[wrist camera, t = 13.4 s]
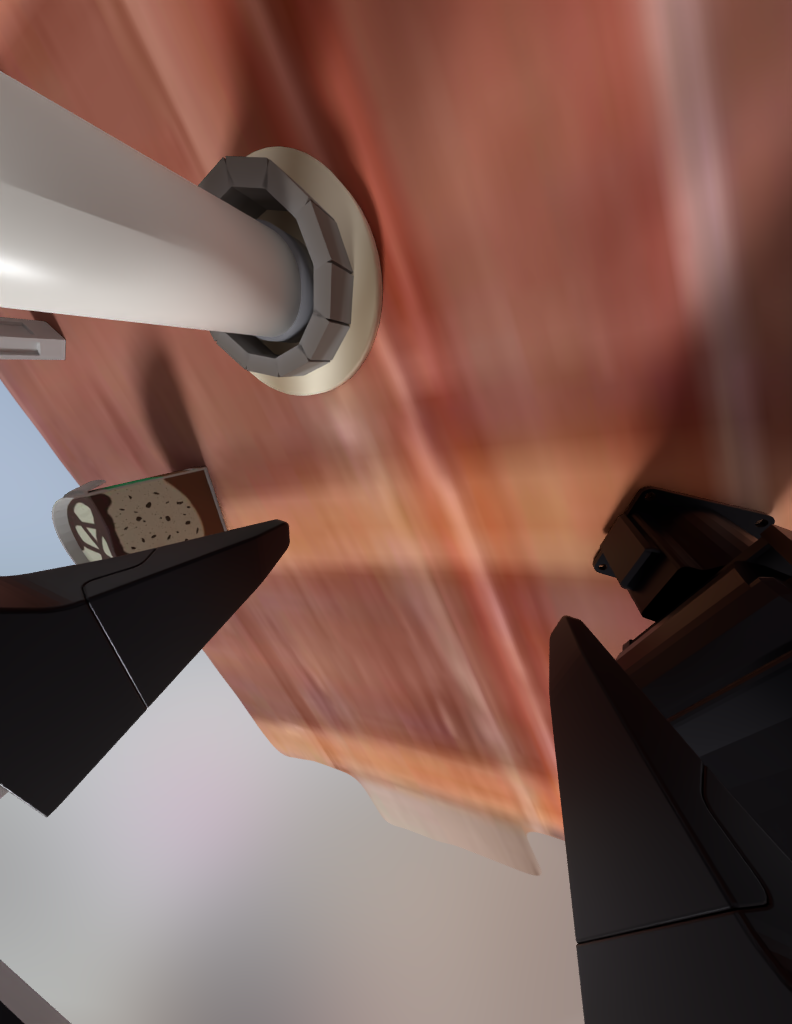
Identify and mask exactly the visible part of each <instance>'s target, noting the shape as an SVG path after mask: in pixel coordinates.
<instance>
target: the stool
mask: <svg viewBox="0 0 792 1024" xmlns="http://www.w3.org/2000/svg"><path fill="white" fill-rule="evenodd" d="M65 344H66V340H65V339H64V338H63V337H62V336H61V335H60V334H59V333H57V332H56V331H55V330H54V329H53V328H52V327H51V326H50V325H49V324H48V323H47V322H45V321H37V320H26V319H16V318H5V317H0V359H33V360H65Z"/></svg>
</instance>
